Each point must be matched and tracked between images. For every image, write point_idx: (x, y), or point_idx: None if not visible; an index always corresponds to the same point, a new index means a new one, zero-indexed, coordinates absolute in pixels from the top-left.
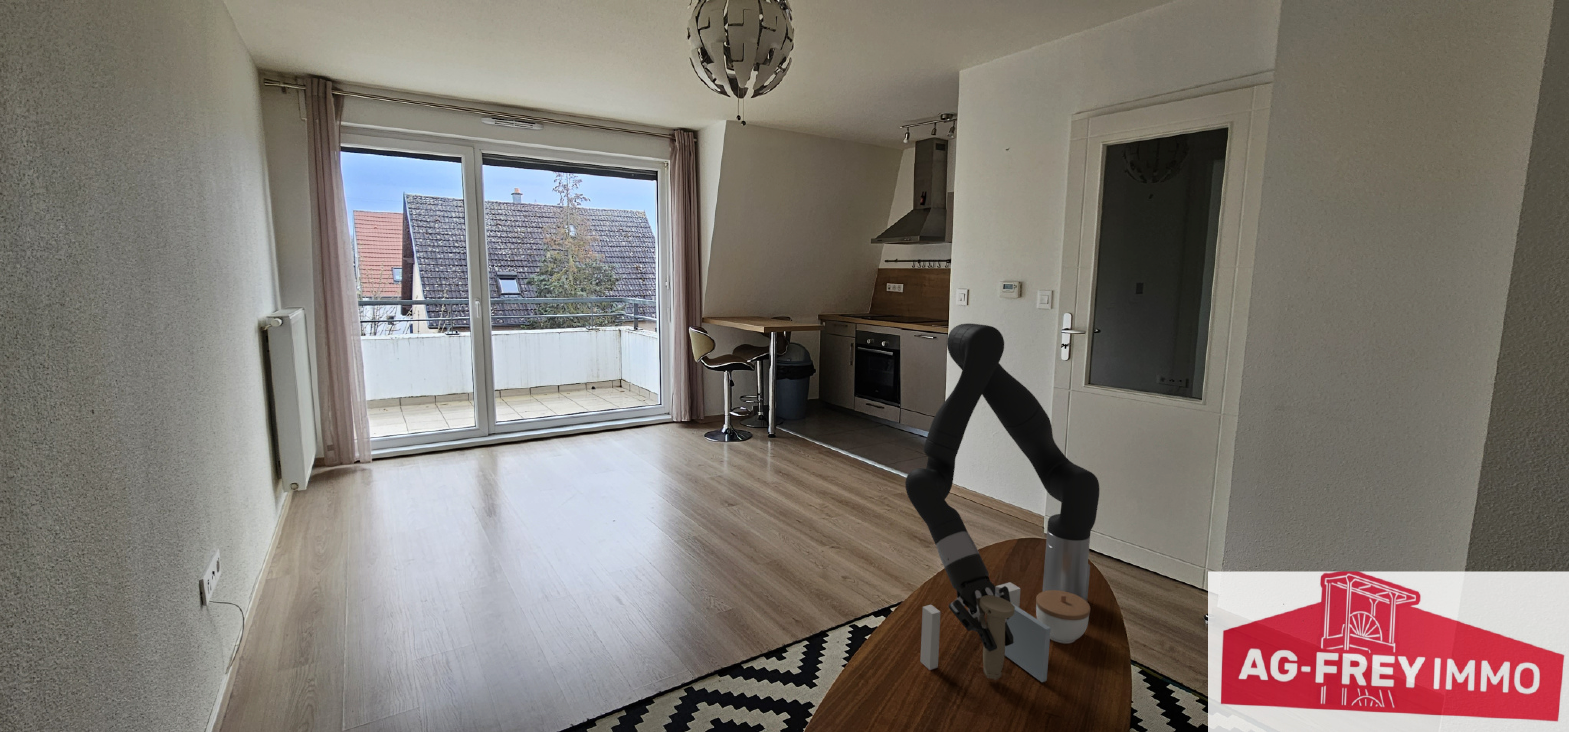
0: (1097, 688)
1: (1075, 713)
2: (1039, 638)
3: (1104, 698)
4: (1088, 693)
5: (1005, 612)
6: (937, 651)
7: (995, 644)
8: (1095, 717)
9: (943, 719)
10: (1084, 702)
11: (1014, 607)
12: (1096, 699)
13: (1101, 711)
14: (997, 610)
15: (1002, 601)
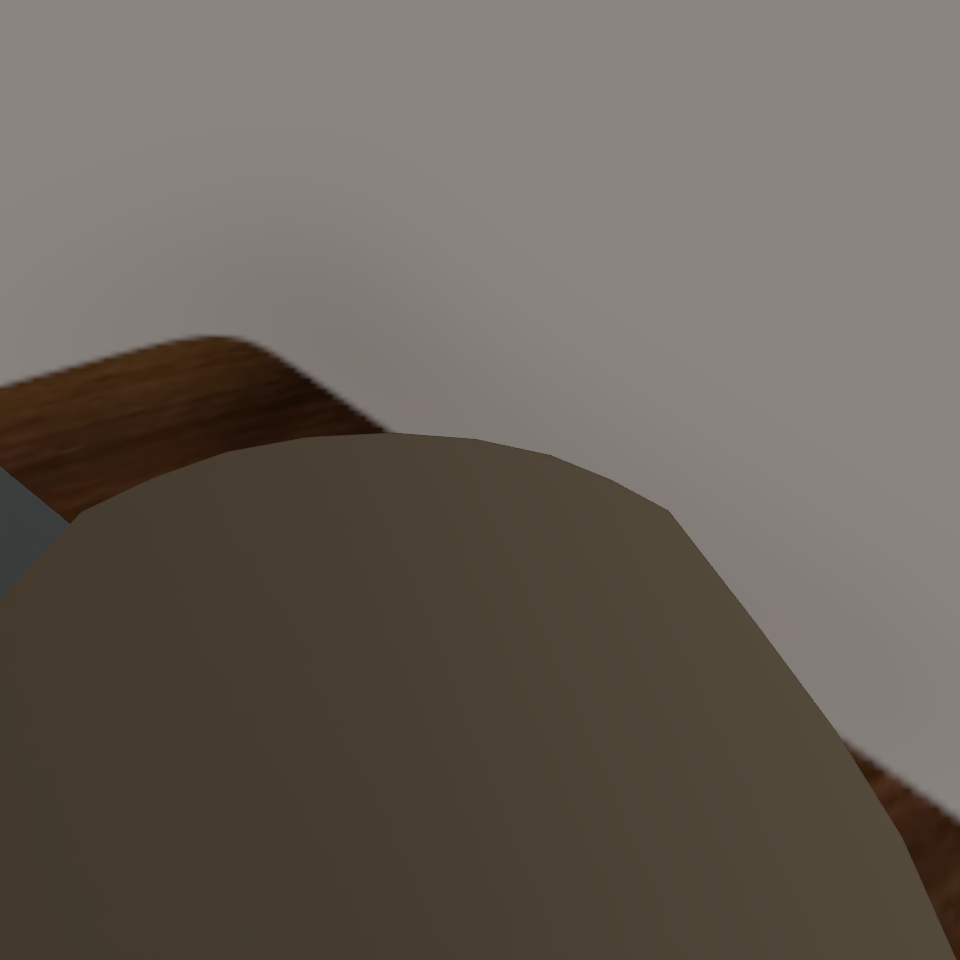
0: (41, 447)
1: (316, 430)
2: (13, 580)
3: (109, 401)
4: (117, 455)
5: (646, 500)
6: None
7: None
8: (279, 375)
9: (916, 798)
10: (206, 439)
11: (157, 489)
12: (143, 417)
13: (220, 376)
14: (815, 724)
15: None
